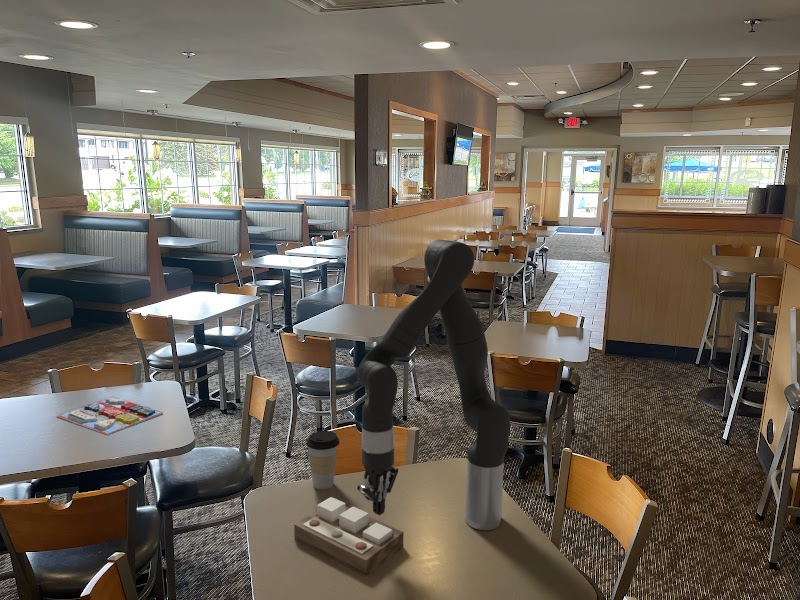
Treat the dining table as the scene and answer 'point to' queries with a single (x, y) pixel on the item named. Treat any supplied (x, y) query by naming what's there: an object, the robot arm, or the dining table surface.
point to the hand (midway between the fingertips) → (379, 512)
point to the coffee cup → (323, 458)
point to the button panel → (347, 543)
